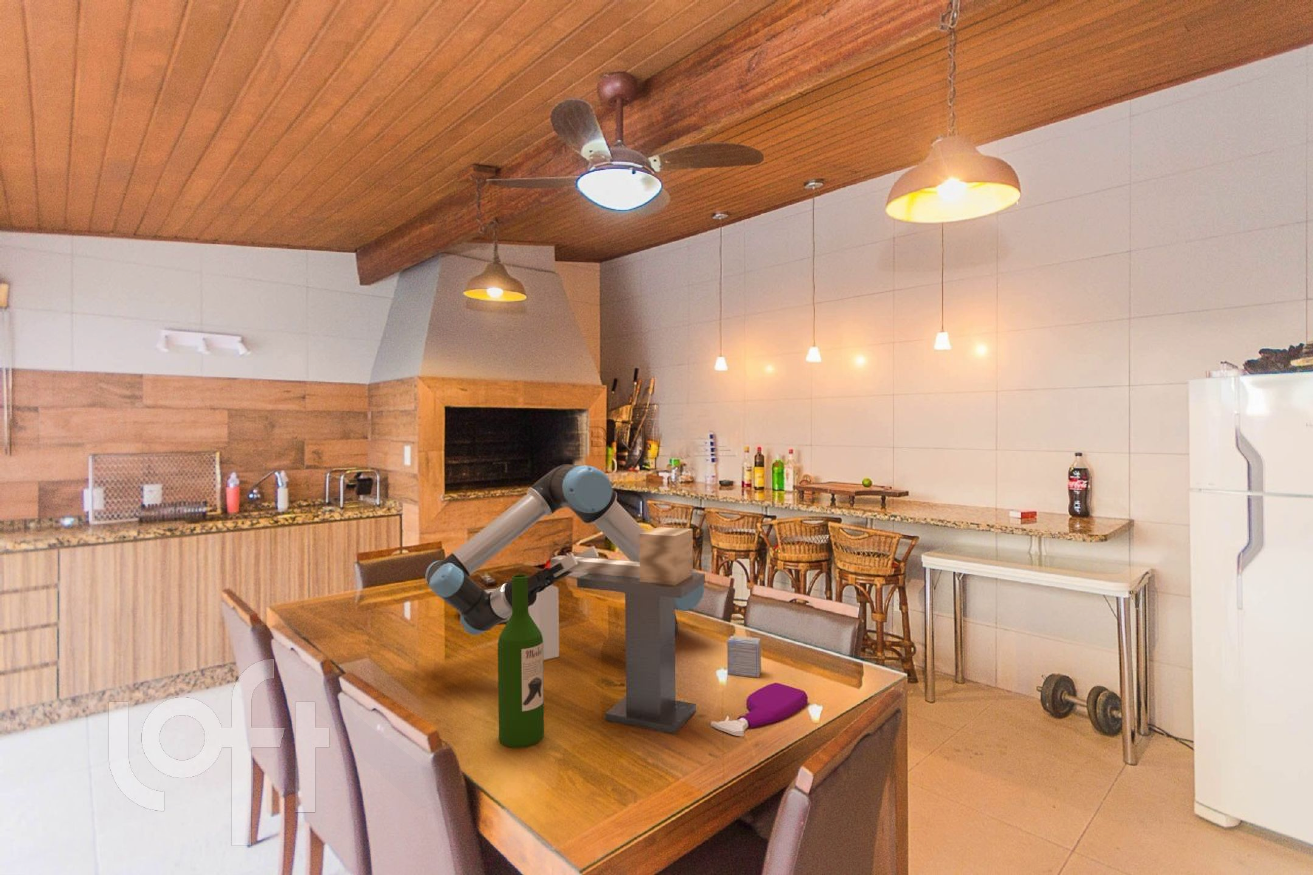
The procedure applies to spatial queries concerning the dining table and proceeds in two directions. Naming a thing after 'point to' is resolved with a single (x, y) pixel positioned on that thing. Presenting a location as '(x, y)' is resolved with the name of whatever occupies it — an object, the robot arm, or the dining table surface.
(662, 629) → the stand
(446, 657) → the dining table surface
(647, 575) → the wooden l-shaped block
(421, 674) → the dining table surface
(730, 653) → the medicine box
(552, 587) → the milk
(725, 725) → the spray bottle
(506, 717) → the wine bottle
